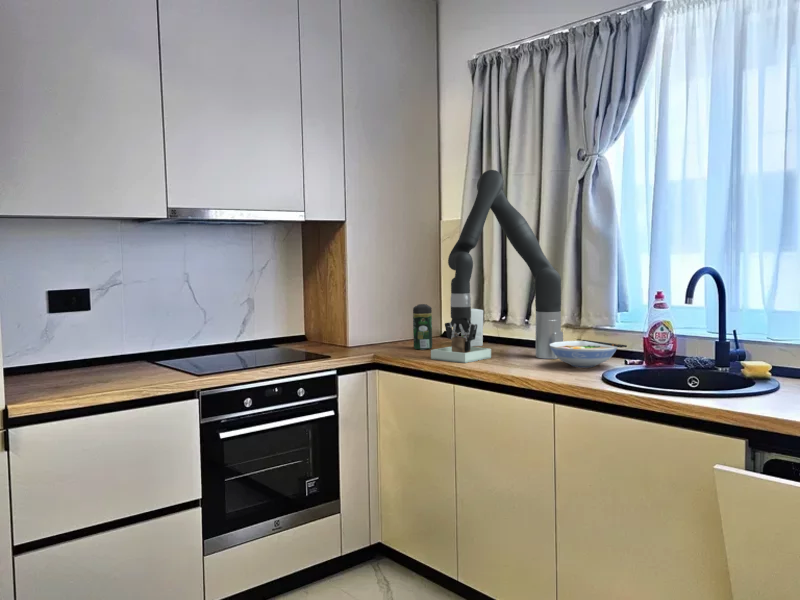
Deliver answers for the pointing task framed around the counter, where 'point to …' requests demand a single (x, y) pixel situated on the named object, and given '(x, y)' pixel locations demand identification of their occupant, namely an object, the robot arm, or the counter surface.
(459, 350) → the walnut block
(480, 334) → the skincare box
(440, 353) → the sage tray
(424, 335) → the coffee jar
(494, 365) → the counter surface
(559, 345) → the ramen bowl
